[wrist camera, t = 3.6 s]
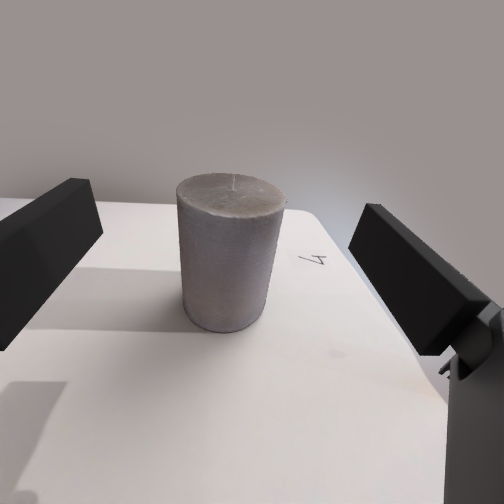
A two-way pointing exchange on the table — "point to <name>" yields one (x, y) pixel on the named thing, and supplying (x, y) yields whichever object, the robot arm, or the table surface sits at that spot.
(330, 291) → the table surface
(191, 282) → the pillar candle
